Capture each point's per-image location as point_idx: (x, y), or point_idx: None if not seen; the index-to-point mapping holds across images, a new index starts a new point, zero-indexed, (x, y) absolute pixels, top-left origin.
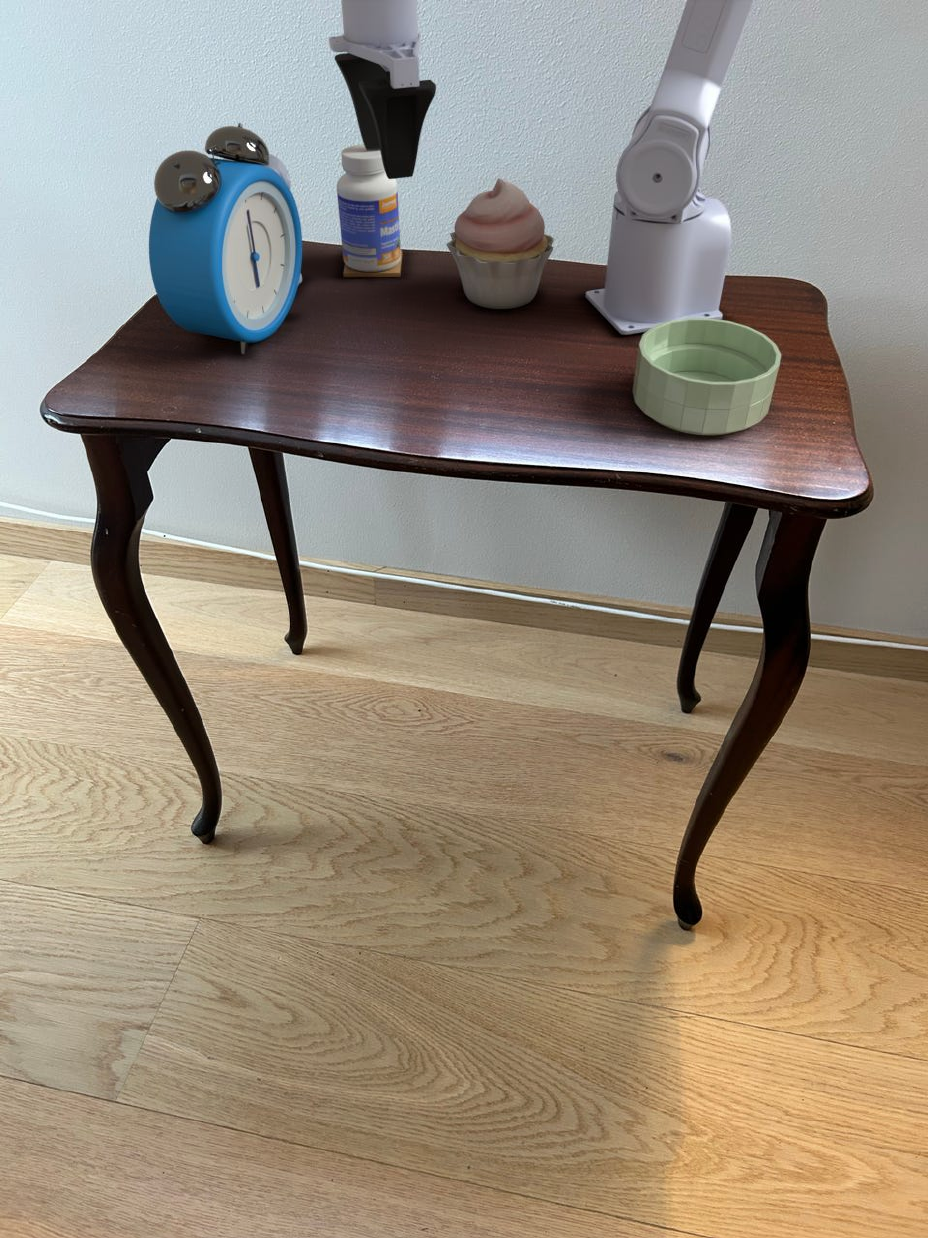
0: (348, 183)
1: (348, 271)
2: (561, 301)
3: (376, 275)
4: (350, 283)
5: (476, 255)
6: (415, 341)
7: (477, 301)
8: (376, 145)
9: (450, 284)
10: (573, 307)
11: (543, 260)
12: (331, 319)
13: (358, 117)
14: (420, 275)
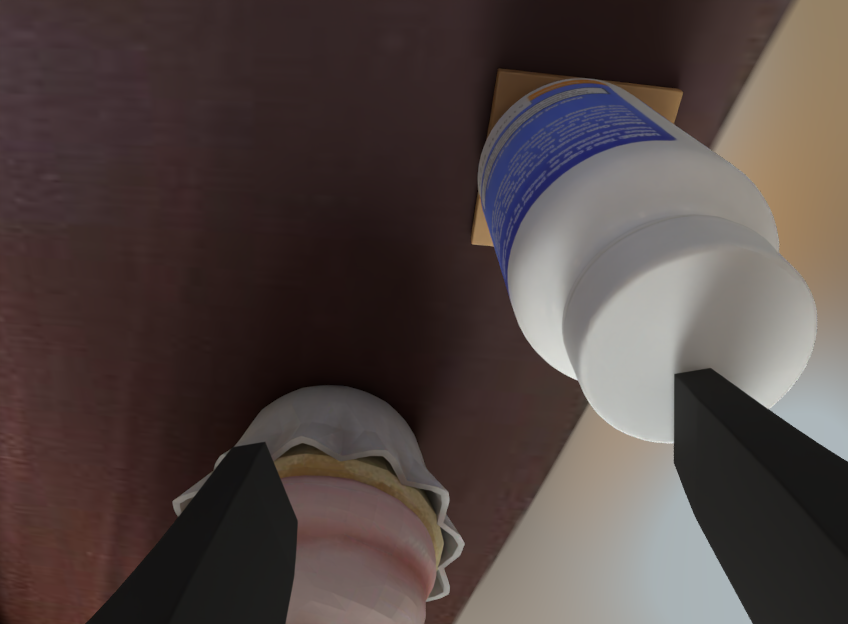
0: (591, 216)
1: (507, 89)
2: None
3: None
4: (448, 89)
5: None
6: (69, 253)
7: (262, 409)
8: (679, 423)
9: (406, 355)
10: None
11: None
12: (184, 18)
13: (754, 458)
14: (473, 291)
